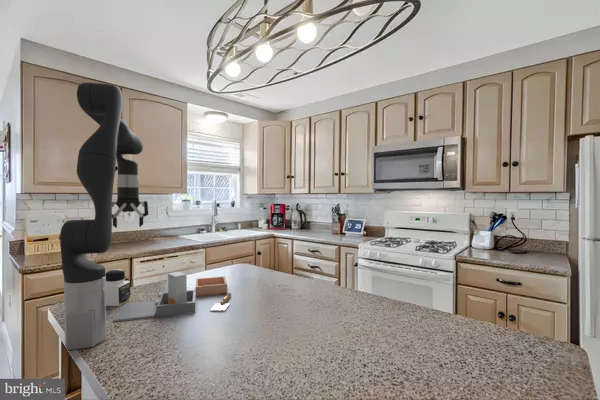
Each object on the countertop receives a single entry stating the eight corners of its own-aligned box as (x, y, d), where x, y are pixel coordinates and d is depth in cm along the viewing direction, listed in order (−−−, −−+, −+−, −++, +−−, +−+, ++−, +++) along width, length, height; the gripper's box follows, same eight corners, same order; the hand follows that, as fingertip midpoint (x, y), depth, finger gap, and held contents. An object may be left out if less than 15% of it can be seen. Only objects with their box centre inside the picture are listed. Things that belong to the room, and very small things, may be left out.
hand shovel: (222, 296, 120) (222, 292, 120) (235, 296, 120) (235, 292, 119) (210, 311, 105) (210, 307, 105) (224, 311, 105) (224, 307, 104)
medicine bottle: (119, 306, 110) (118, 273, 109) (99, 306, 110) (99, 273, 109) (130, 299, 117) (130, 268, 116) (112, 299, 117) (111, 268, 117)
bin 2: (227, 294, 123) (227, 284, 123) (195, 297, 119) (195, 287, 119) (224, 285, 134) (224, 276, 134) (195, 288, 131) (195, 278, 130)
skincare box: (167, 306, 109) (167, 273, 109) (179, 303, 112) (179, 271, 112) (175, 311, 105) (175, 276, 105) (187, 307, 108) (187, 274, 108)
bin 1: (195, 312, 104) (195, 299, 104) (112, 322, 96) (112, 308, 96) (195, 298, 117) (195, 287, 117) (123, 306, 110) (123, 294, 109)
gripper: (106, 186, 116) (107, 228, 116) (148, 186, 123) (148, 226, 123) (107, 186, 122) (107, 227, 122) (147, 187, 129) (147, 225, 130)
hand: (128, 227), depth 123 cm, fingers open, 8 cm apart
